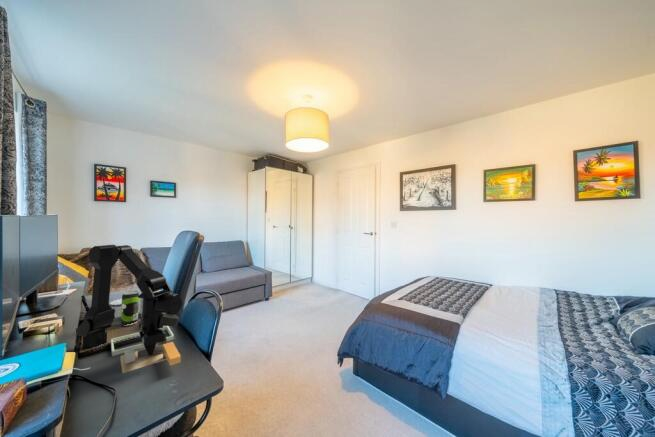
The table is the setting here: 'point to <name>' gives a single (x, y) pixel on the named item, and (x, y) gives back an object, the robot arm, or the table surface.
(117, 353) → the tray
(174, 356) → the bar
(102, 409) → the table surface
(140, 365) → the tie board
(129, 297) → the beverage can
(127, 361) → the lead
